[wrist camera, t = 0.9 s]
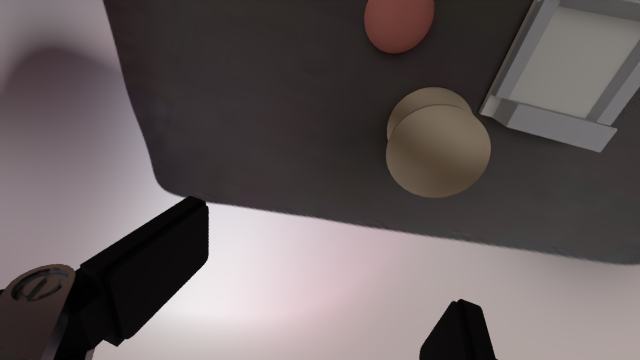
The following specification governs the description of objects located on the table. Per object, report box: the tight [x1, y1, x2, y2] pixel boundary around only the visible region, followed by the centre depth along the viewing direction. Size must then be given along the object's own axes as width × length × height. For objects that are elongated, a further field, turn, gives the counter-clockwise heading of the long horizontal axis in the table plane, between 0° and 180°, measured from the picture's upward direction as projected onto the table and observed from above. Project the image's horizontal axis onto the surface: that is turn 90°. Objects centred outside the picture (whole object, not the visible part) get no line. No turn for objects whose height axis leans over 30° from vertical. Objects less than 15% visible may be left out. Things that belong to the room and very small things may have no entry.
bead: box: [364, 0, 434, 53], centre depth 22 cm, size 6×6×6 cm
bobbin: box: [386, 87, 491, 198], centre depth 23 cm, size 8×8×9 cm
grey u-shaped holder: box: [478, 0, 640, 152], centre depth 20 cm, size 11×9×5 cm
